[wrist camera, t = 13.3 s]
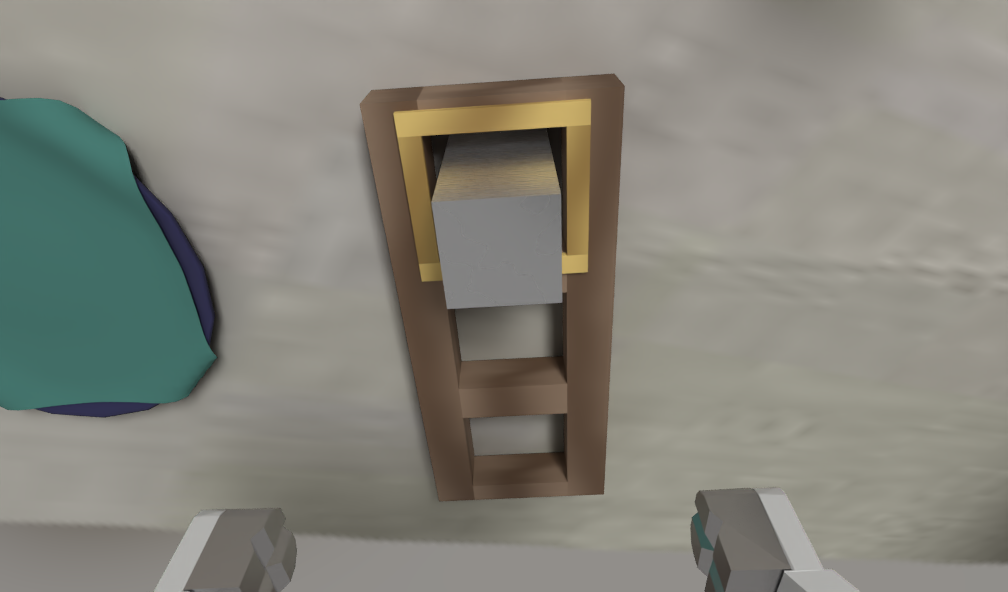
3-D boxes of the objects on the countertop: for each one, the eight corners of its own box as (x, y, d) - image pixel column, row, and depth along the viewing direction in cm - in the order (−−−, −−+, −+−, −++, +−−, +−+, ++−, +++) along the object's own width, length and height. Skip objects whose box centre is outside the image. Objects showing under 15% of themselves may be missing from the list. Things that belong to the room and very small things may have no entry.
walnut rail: (614, 73, 25) (625, 88, 23) (598, 464, 39) (604, 497, 37) (371, 90, 25) (358, 106, 23) (442, 471, 39) (438, 505, 37)
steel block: (546, 128, 26) (561, 194, 20) (548, 217, 29) (562, 302, 22) (449, 134, 26) (431, 202, 20) (460, 222, 29) (446, 309, 22)
